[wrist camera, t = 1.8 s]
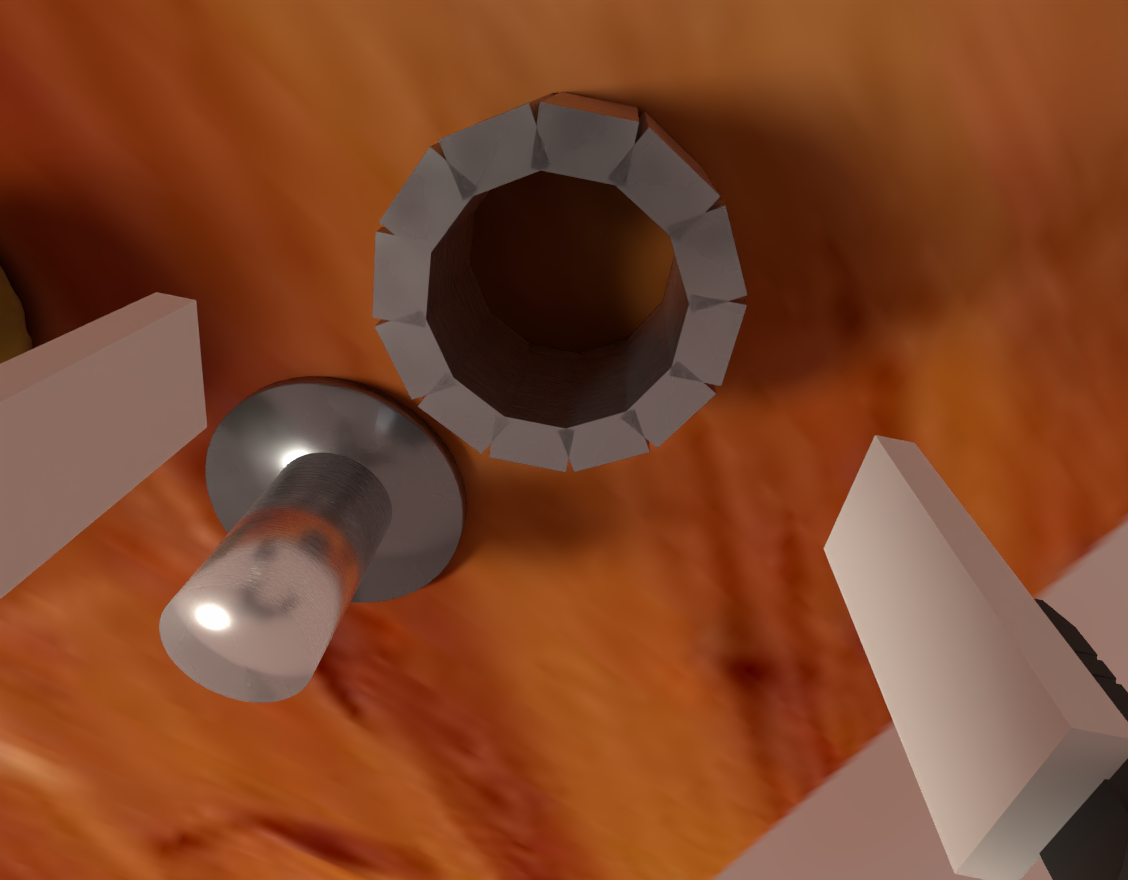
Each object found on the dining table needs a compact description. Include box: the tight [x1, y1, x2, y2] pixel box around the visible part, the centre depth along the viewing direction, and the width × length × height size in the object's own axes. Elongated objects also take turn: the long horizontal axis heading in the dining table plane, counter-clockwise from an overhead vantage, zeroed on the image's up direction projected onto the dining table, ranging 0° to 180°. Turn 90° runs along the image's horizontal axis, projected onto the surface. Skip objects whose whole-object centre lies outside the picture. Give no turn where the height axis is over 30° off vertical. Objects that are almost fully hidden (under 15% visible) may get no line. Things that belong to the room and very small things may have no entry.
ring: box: [373, 92, 747, 472], centre depth 21 cm, size 10×10×6 cm
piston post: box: [159, 377, 466, 703], centre depth 26 cm, size 11×11×9 cm
